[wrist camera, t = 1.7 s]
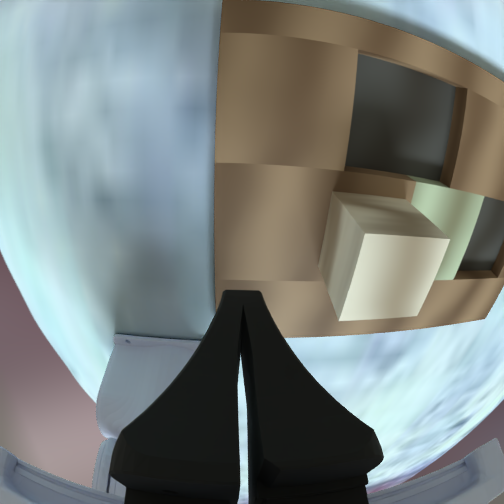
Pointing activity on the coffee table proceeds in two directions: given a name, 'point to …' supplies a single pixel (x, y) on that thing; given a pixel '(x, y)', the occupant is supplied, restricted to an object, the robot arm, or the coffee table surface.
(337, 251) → the block
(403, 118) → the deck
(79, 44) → the coffee table surface
